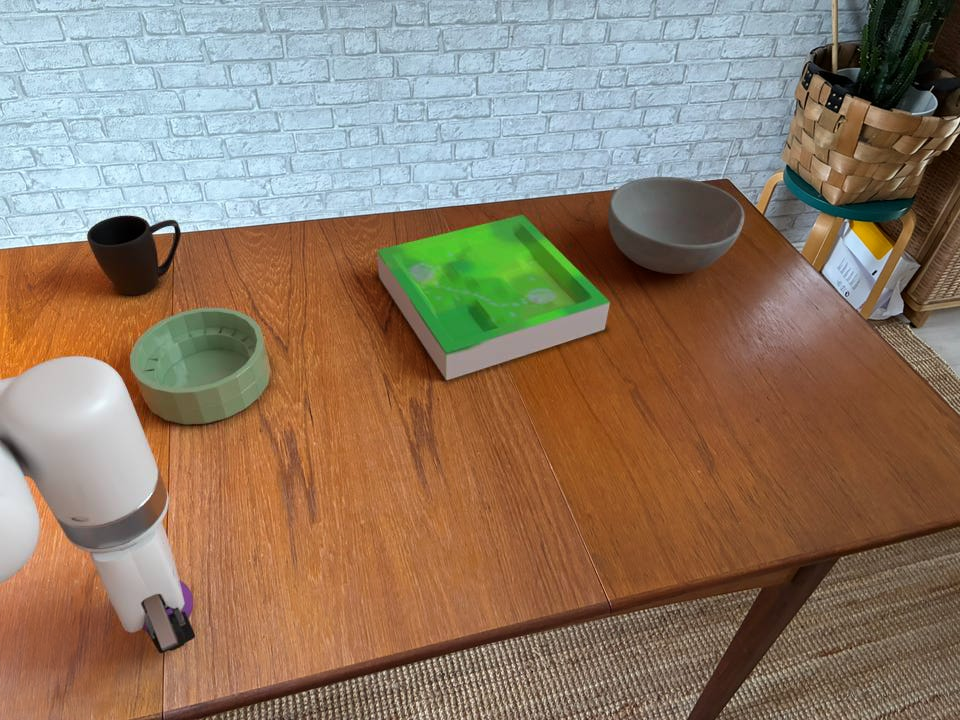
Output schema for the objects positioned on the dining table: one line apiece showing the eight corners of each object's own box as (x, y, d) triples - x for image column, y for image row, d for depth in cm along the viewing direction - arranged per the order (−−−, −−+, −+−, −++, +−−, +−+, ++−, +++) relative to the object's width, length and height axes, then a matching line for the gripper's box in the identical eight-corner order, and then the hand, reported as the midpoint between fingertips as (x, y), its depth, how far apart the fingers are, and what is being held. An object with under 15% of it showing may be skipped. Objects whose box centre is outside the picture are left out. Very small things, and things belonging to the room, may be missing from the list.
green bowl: (235, 438, 84) (224, 403, 80) (118, 412, 87) (102, 377, 82) (290, 353, 95) (283, 319, 91) (186, 333, 98) (175, 298, 94)
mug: (199, 284, 106) (182, 230, 99) (114, 308, 101) (91, 252, 95) (186, 256, 111) (169, 203, 104) (104, 277, 106) (82, 223, 100)
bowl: (609, 217, 124) (619, 165, 117) (728, 237, 120) (745, 185, 113) (591, 282, 109) (601, 227, 102) (726, 308, 106) (745, 252, 99)
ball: (180, 651, 64) (166, 624, 61) (130, 637, 65) (114, 610, 61) (208, 602, 68) (197, 574, 64) (161, 589, 68) (147, 561, 65)
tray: (520, 240, 117) (522, 214, 114) (604, 329, 101) (610, 302, 98) (379, 277, 109) (376, 250, 105) (446, 380, 92) (446, 352, 89)
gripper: (42, 443, 57) (109, 565, 70) (77, 613, 47) (148, 721, 59) (139, 411, 61) (186, 533, 73) (192, 564, 50) (237, 676, 62)
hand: (169, 617), depth 66 cm, fingers closed on ball, 4 cm apart
